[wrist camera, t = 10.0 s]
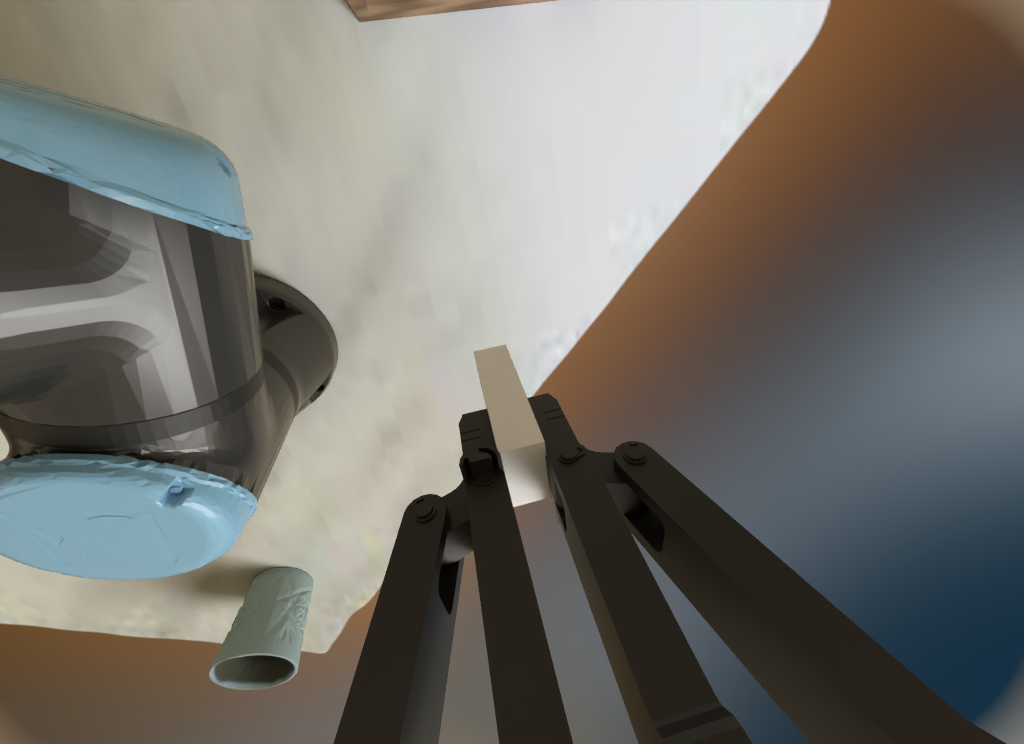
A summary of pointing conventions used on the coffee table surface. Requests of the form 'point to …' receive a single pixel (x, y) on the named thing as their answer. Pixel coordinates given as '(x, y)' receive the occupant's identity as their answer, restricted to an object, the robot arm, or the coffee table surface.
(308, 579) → the grey-blue cup
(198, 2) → the coffee table surface
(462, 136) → the coffee table surface
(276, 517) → the coffee table surface
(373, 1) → the wooden tray
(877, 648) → the robot arm
